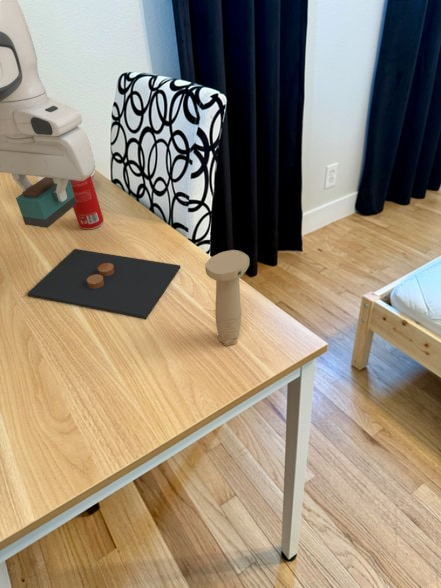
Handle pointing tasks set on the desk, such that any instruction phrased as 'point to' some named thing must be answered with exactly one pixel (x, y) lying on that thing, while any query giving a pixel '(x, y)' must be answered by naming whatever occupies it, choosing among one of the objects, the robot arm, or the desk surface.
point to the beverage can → (86, 204)
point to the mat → (107, 283)
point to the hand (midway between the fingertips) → (46, 198)
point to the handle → (227, 292)
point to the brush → (44, 203)
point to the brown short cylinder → (95, 281)
